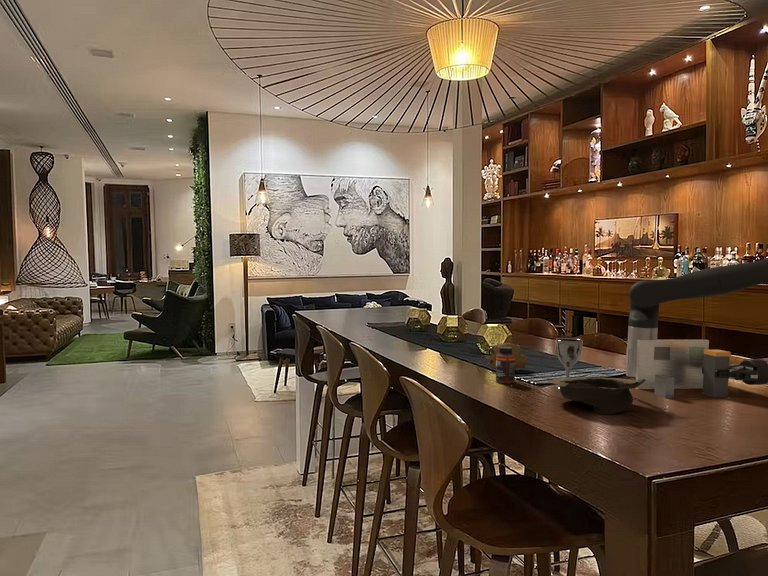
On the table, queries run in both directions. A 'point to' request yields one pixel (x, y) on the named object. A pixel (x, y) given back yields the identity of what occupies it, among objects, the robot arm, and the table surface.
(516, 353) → the wooden carving
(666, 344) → the white upright board
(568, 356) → the wine glass
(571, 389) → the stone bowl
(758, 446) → the table surface
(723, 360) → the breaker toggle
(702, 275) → the robot arm
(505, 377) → the supplement bottle
